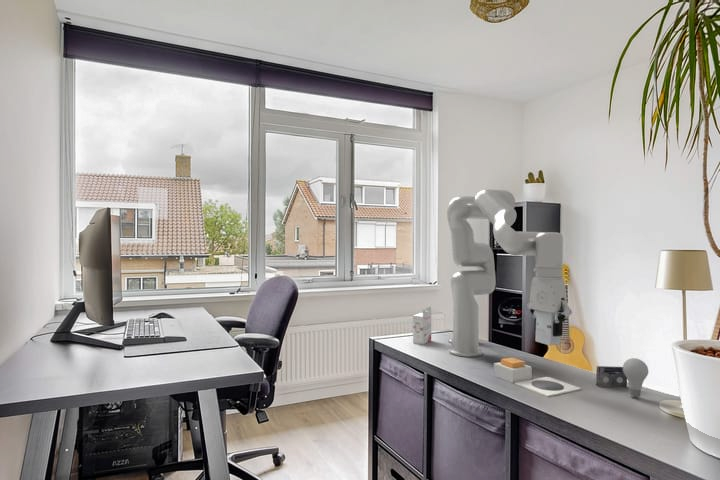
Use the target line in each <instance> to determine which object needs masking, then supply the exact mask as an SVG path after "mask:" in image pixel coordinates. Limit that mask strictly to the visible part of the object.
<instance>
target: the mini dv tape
mask: <svg viewBox="0 0 720 480" xmlns="http://www.w3.org/2000/svg"><path fill="white" fill-rule="evenodd" d="M595 374H596V376H595V377H596V378H595V379H596V380H595V381H596V384H595V385H596V386H597V387H598V388H620V387H623V388H624V389H625V388H626V389H627V388H628V380H627V377H626V376H625V374H624V372H623V366H607V365H606V366H601V365H600V366H599V365H597V366H596V373H595Z"/></svg>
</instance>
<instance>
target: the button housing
mask: <svg viewBox="0 0 720 480" xmlns="http://www.w3.org/2000/svg"><path fill="white" fill-rule="evenodd" d="M532 367H533V366H530V365H528V364H525V363H524V367H519V368H510V367H507V366H504V365H502V364H501V361H500V362H494V363H493V376H494V377H497V378H499V379H502V380H504V381H506V382H508V383H511V384H515V383H516V382H522V381H527V380H532V370H533V369H532Z"/></svg>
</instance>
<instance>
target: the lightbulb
mask: <svg viewBox="0 0 720 480" xmlns="http://www.w3.org/2000/svg"><path fill="white" fill-rule="evenodd" d="M622 367H623V372H624V374H625V376H626V377H627V384H628V388H629V395H630V396H632V398H635V399H637V398H640V397H641V392H642V389H643V384H644V381H645V380H646V378H647V376H648V375H649V367H648V365H647V364H646V362H644V360H642V359H639V358H637V357H635V358H629V359H627V360H626V361H624V363H623V365H622Z"/></svg>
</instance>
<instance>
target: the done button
mask: <svg viewBox="0 0 720 480" xmlns="http://www.w3.org/2000/svg"><path fill="white" fill-rule="evenodd" d="M500 362H501V364H502V365H504V366H507V367H510V368H519V367H524V364H525V360H521V359H518V358H516V357H513V356H512V357H508V358H501V359H500Z"/></svg>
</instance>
